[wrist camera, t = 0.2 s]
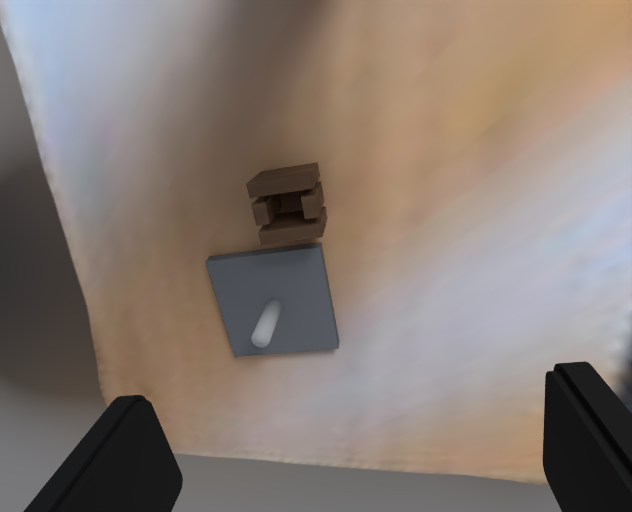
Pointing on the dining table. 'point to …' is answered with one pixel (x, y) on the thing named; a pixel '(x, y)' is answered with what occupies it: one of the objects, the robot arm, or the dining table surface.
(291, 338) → the stand
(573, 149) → the dining table surface
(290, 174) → the wooden block stack
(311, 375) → the dining table surface
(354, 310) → the dining table surface
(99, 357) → the dining table surface
